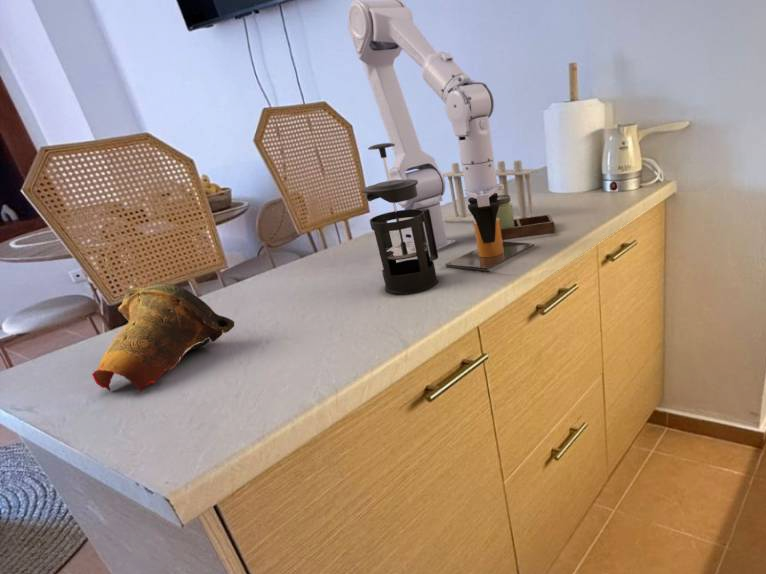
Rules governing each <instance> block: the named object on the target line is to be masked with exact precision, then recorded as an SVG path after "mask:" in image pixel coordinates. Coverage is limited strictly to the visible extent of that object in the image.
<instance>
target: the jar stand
mask: <svg viewBox="0 0 766 574" xmlns="http://www.w3.org/2000/svg"><path fill="white" fill-rule="evenodd" d="M514 224H515V227H510V228H503V229H501V234H502V241H508V240H514V239H522V238H529V237H535V236H542V235H550V234H551V235H552V234H555V233H556V229H555V221H554V220H553V218H552V216H551V214H549V213H548V214H543V215H534V217H527V218H520V219H514Z"/></svg>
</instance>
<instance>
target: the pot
mask: <svg viewBox="0 0 766 574" xmlns="http://www.w3.org/2000/svg"><path fill="white" fill-rule="evenodd" d="M123 296H124V297H123V299H122V302H121V304H120V305H119V306H118V308H117V310H118V312H119V313H121V314H122V316H123V317H124V318H125V319H126V321H128V322H127V323H126V325H125V326H123V328H122V329H121V330H120V331H119V332H118V333H117V334H116V335H115V337H114V338H113V340H112V341H111V343H110V344H109V345H108V348H106V351H105V352H104V354H103V356H102V357H101V360H100V362H99V365H98V366H97V370H93V373H92V374H91V375H92V378H93V379H94V380H93V381H94V382H95V384H97V385H98V386H99V387H100V388H101V389H107V391H109V392H111V387H110V384H111V382H112V379H113V376H114V375H119V376H121V377H123V378H125V379H126V380H128V381H129V382H131V384H133V385H134V386H135V387H136V388H137V390H139V391H140V393H142V392H143V389H145V388H146V386H148V385H149V384H156V382H157V379H159V378H160V377H161V376H162V375H163V374H164V373H165V372H166V371H169V370H171V369H173V368H174V367H176V365H177V364H178V363H180V360H181V359H182V358H183V357H184V355H185V354H186V353H188V352H190V351H191V350H195V349H198V348H203V347H204V346H206V345H207V344H208V343H209V342H210V341H211V342H212V343H215V342H217V340H218V339H220V337H222V336H223V334H227V333H229V332H230V331H232V330H233V329H234V327H235V322H236V321H234V320H233V319H231V318H229V317H226V316H223V315H219V314H218V313H216V312H215V311H214V310H213V309H212V307H210V306H209V304H207V303H206V302H205V301H204V300H203V299H201V298H200V297H198V296H197V295H195V294H194V293H192V292H191V291H189V290H188V289H186V288H184V287H182V286H179V285H177V284H171V283H154V284H150V285H147V286H146V287H141V286H140V287H139V286H137V287H132V288H130V289H128V290H126V291H125V294H124V295H123Z"/></svg>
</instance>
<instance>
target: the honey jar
mask: <svg viewBox="0 0 766 574" xmlns="http://www.w3.org/2000/svg"><path fill="white" fill-rule="evenodd" d="M497 216H498V214H497ZM472 222H473V223H472V224H473V229H474V236H475V242H476V249H478V255H479V256H480V257H494V256H498V255H501V254H502V253H503V252H504V249H503V242H504V240H502V234H501V226H500V219H499V218H497V217H496V235H495V242H490V243H484V242H483V240H482V238H481V235H480V232H479V229H478V226H477V223H476V221H472Z"/></svg>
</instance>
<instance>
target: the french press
mask: <svg viewBox="0 0 766 574" xmlns="http://www.w3.org/2000/svg"><path fill="white" fill-rule="evenodd" d="M392 146H395V144H392V143H390V142H384V143H377V144H373V145H371V146H369V147H368V148H367V149H368V150H378V151H379V155H380V159H382V160H383V161H382V162H383V165H384V171H385V174H386V179H387V180H386V181H382V182H377V183H375V184H371V185H368V186H365V187H363V188H362V189H361V192H362V193H363V194H365V196H366V200H367V202H372V201H374V200H377V199H382V200H383V201H386V202H388V203H390V204H392V207H393V211H389V212H385V213H381V214H378V215H375V216H373V217H371V218H370V219H369V224H370V229H371V230H372V231H373V232H374V236H375V240H376V245H377V248H378V252H379V253H378V254H379V257H380V260H381V265H382V268H383V269H382V270H381V274H382V277H383V282H384V291H385V293H387V294H388V295H389V294H390V295H392V296H393V295H394V296H407V295H413V294H418V293H422V292H425V291H428V290H430V289H432V288H433V287H435V286H437V285H438V283H439V277H438V276H437V273H436V268H435V263H434V261H436V260H438V259H439V253H438V249H437V248H436V242H435V237H434V232H433V227H432V221H431V216H430V211H429V209H425V208H421V209H409V210H404V209H401V210H397V206H396V204H398V202H402V201H406V200H410V199H413V198H415V197H417V196H418V194H417V189H416V185H417V184H418V181H417V180H390V176H389V173H388V172H389V169H388V165H387V160H386V158H387V157H388V156H387V150H386V149H387V148H392ZM409 217H414V218H410V219H407V220H402V221H399V219H400V218H409ZM393 220H395V221H393ZM396 220H397V222H396ZM390 221H391V222H390ZM423 222H424V224H425V229H426V235H427V240H428V244H427V241H426V236H425V231H424V226H423ZM410 227H411V230H412V234H413V239H414V242H411V243H405V242H403V237H402V232H401V229H406V228H410ZM398 230H399V233H400V238H401V243H400V242H399V243H398V244H395V245H393V241H392V237H391V233H390V232H393V231H398ZM428 246H429V250H430V253H429V251H428Z"/></svg>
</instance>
